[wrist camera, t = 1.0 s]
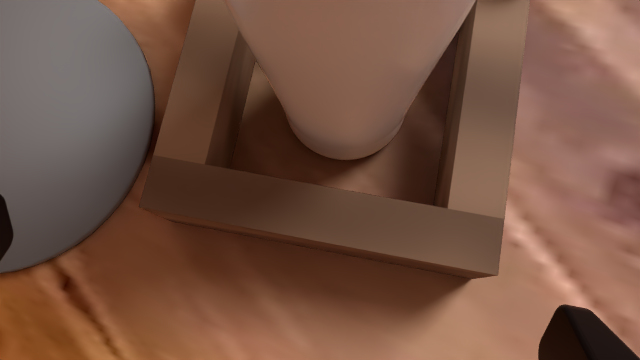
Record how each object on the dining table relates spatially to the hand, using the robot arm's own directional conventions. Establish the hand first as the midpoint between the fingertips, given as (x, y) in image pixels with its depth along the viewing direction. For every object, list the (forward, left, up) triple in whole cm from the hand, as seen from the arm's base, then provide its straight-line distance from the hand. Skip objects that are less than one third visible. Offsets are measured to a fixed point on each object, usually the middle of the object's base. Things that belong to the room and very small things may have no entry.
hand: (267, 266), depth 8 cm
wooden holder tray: (+8, +2, -13) cm, 16 cm away
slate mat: (+1, +16, -13) cm, 21 cm away
